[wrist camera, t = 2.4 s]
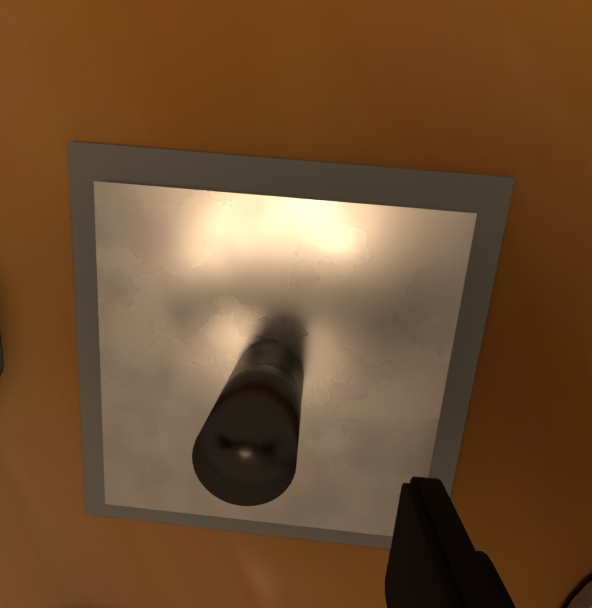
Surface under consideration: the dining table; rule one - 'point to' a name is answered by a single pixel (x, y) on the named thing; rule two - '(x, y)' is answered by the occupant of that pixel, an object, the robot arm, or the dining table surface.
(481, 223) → the mat
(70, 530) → the dining table surface
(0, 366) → the bowl
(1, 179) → the dining table surface
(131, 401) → the lid
